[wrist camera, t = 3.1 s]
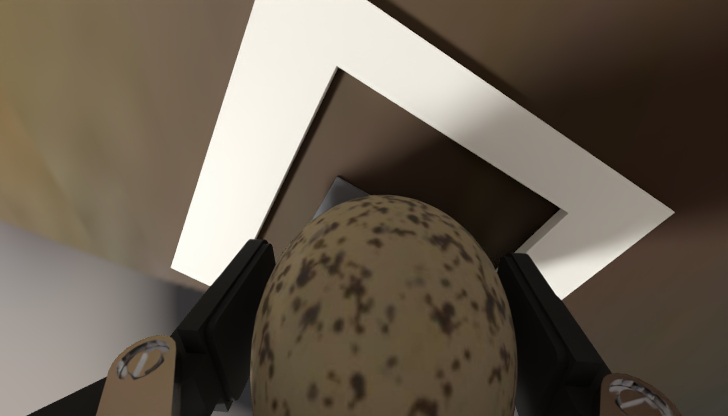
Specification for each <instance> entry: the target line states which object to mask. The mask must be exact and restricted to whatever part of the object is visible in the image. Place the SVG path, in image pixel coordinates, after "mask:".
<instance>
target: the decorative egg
mask: <svg viewBox="0 0 728 416" xmlns="http://www.w3.org/2000/svg"><path fill="white" fill-rule="evenodd" d="M250 380H251V400H252V411H253V416H513V415H514V410H515V401H516V391H517V346H516V337H515V331H514V325H513V319H512V315H511V311H510V307H509V303H508V300H507V297H506V294H505V291H504V289H503V286H502V284H501V281H500V279H499V276H498V274H497V272H496V270H495V268H494V266H493V264H492V262H491V261H490V259H489V258H488V256H487V255H486V253H485V252H484V251H483V249H482V248H481V246H480V245H479V244H478V242H477V241H476V240H475V239H474V238H473V236H472V235H471V234H470V233H469V232H468V231H467V230H466V229H465V228H463V227H462V226H461V225H460V224H459V223H458V222H456V221H455V220H454V219H453V218H451V217H450V216H448V215H447V214H445V213H444V212H442V211H441V210H439V209H437V208H435V207H433V206H430V205H428V204H426V203H424V202H421V201H418V200H415V199H412V198H408V197H402V196H395V195H371V196H365V197H360V198H356V199H353V200H349V201H347V202H344V203H341V204H339V205H336V206H334V207H332V208H330V209H328V210H327V211H325V212H323V213H322V214H321V215H319V216H318V217H317V218H315V219H314V220H312V221H311V222H310V223H309V224H308V225H307V226H305V227H304V228H303V229H302V230H301V231H300V232H299V233H298V234H297V235H296V237H295V238H294V239H293V240H292V242H291V243H290V244H289V246H288V247H287V248H286V249H285V251H284V252H283V253H282V255H281V257H280V259H279V260H278V262H277V263H276V265H275V267H274V270H273V272H272V274H271V276H270V278H269V280H268V282H267V283H266V287H265V290H264V293H263V296H262V299H261V302H260V305H259V308H258V311H257V315H256V320H255V325H254V331H253V337H252V348H251V369H250Z"/></svg>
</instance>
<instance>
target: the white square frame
mask: <svg viewBox="0 0 728 416" xmlns="http://www.w3.org/2000/svg"><path fill="white" fill-rule="evenodd" d="M338 67H339V68H341V69H342V70H344V71H346V72H347V73H349V74H350V75H352V76H353V77H355V78H357V79H358V80H360V81H361V82H363V83H364V84H366V85H368V86H369V87H371V88H372V89H374V90H375V91H377V92H379V93H380V94H382V95H383V96H385V97H386V98H388V99H390V100H391V101H393V102H394V103H396V104H397V105H399V106H401V107H402V108H404V109H405V110H407V111H408V112H410V113H412V114H413V115H415V116H416V117H418V118H419V119H421V120H423V121H424V122H426V123H427V124H429V125H430V126H432V127H434V128H435V129H437V130H438V131H440V132H441V133H443V134H445V135H446V136H448V137H449V138H451V139H452V140H454V141H456V142H457V143H459V144H460V145H462V146H464V147H465V148H467V149H468V150H470V151H471V152H473V153H475V154H476V155H478V156H479V157H481V158H482V159H484V160H486V161H487V162H489V163H490V164H492V165H493V166H495V167H497V168H498V169H500V170H501V171H503V172H504V173H506V174H508V175H509V176H511V177H512V178H514V179H515V180H517V181H519V182H520V183H522V184H523V185H525V186H526V187H528V188H530V189H531V190H533V191H534V192H536V193H537V194H539V195H541V196H542V197H544V198H545V199H547V200H548V201H550V202H552V203H553V204H555V205H556V206H558V207H559V208H561V209H560V210H559V211H558V212H557V213H556V214H554V215H553V216H552V217H551V218H550V219H549V220H548V221H547V222H546V223H545V224H544V225H543V226H542V227H541V228H540V229H539V230H538V231H536V232H535V233H534V234H533V235H532V236H531V237H530V238H529V239H528V240H527V241H526V242H525V243H524V244H523V245H522V246H521V247H520V248H519V249H517V250H516V251H515V252H514V253H526V254H528V255H529V256H530V258H531V259H532V260H533V262H534V263H535V265H536V266H537V268H538V269H539V271H540V272H541V274H542V275H543V277H544V278H545V280H546V281H547V282H548V284H549V285H550V287H551V288H552V290H553V291H554V293H555V294H556V296H558V297H559V298H560V299H561V300H562V299H563V298H565V297H566V296H567V295H568V294H570V293H571V292H572V291H574V290H575V289H576V288H578V287H579V286H580V285H581V284H583V283H584V282H585V281H587V280H588V279H589V278H591V277H592V276H593V275H594V274H596V273H597V272H598V271H600V270H601V269H602V268H603V267H605V266H606V265H607V264H609V263H610V262H611V261H613V260H614V259H615V258H616V257H618V256H619V255H620V254H622V253H623V252H624V251H626V250H627V249H628V248H629V247H631V246H632V245H633V244H635V243H636V242H637V241H638V240H640V239H641V238H642V237H644V236H645V235H646V234H648V233H649V232H650V231H651V230H653V229H654V228H655V227H657V226H658V225H659V224H660V223H662V222H663V221H664V220H666V219H667V218H668V217H670V216H671V215H672V214H673V213H675V212H674V211H673V210H671V209H670V208H668V207H667V206H665V205H664V204H663V203H661V202H660V201H658V200H657V199H655V198H654V197H652V196H651V195H649V194H648V193H647V192H645V191H644V190H642V189H641V188H639V187H638V186H636V185H635V184H633V183H632V182H631V181H629V180H628V179H626V178H625V177H623V176H622V175H620V174H619V173H617V172H616V171H615V170H613V169H612V168H610V167H609V166H607V165H606V164H604V163H603V162H601V161H600V160H599V159H597V158H596V157H594V156H593V155H591V154H590V153H588V152H587V151H585V150H584V149H583V148H581V147H580V146H578V145H577V144H575V143H574V142H572V141H571V140H569V139H568V138H567V137H565V136H564V135H562V134H561V133H559V132H558V131H556V130H555V129H553V128H552V127H551V126H549V125H548V124H546V123H545V122H543V121H542V120H540V119H539V118H537V117H536V116H535V115H533V114H532V113H530V112H529V111H527V110H526V109H524V108H523V107H521V106H520V105H519V104H517V103H516V102H514V101H513V100H511V99H510V98H508V97H507V96H505V95H504V94H503V93H501V92H500V91H498V90H497V89H495V88H494V87H492V86H491V85H489V84H488V83H487V82H485V81H484V80H482V79H481V78H479V77H478V76H476V75H475V74H473V73H472V72H471V71H469V70H468V69H466V68H465V67H463V66H462V65H460V64H459V63H457V62H456V61H455V60H453V59H452V58H450V57H449V56H447V55H446V54H444V53H443V52H441V51H440V50H439V49H437V48H436V47H434V46H433V45H431V44H430V43H428V42H427V41H425V40H424V39H423V38H421V37H420V36H418V35H417V34H415V33H414V32H412V31H411V30H409V29H408V28H407V27H405V26H404V25H402V24H401V23H399V22H398V21H396V20H395V19H393V18H392V17H391V16H389V15H388V14H386V13H385V12H383V11H382V10H380V9H379V8H377V7H376V6H375V5H373V4H372V3H370V2H369V1H367V0H255V3H254V6H253V9H252V12H251V15H250V18H249V22H248V25H247V28H246V31H245V34H244V38H243V41H242V44H241V47H240V50H239V53H238V57H237V60H236V63H235V66H234V69H233V72H232V76H231V79H230V82H229V85H228V88H227V91H226V95H225V98H224V101H223V104H222V107H221V110H220V114H219V117H218V120H217V123H216V126H215V129H214V133H213V136H212V139H211V142H210V145H209V148H208V152H207V155H206V158H205V161H204V164H203V167H202V171H201V174H200V177H199V180H198V183H197V186H196V190H195V193H194V196H193V199H192V202H191V205H190V209H189V212H188V215H187V218H186V221H185V224H184V228H183V231H182V234H181V237H180V240H179V244H178V247H177V250H176V253H175V256H174V259H173V263H172V266H171V268H173V269H175V270H177V271H179V272H181V273H183V274H185V275H187V276H190V277H192V278H194V279H196V280H198V281H200V282H202V283H205V284H207V285H209V286H211V285H212V284H213V283H214V281H215V280H216V279H217V278H218V277H219V276H220V275H221V273H222V272H223V271H224V270H225V268H226V267H227V266H228V265H229V263H230V262H231V261H232V260H233V258H234V257H235V256H236V255H237V253H238V252H239V251H240V250H241V248H242V247H243V246H244V245H245V244H246V242H247V241H248V240H249V239H257V236H258V234H259V232H260V230H261V228H262V226H263V224H264V222H265V220H266V218H267V216H268V213H269V211H270V209H271V207H272V205H273V203H274V201H275V199H276V197H277V195H278V193H279V190H280V188H281V186H282V184H283V182H284V180H285V178H286V176H287V174H288V172H289V169H290V167H291V165H292V163H293V161H294V159H295V157H296V155H297V153H298V151H299V149H300V146H301V144H302V142H303V140H304V138H305V136H306V134H307V132H308V130H309V128H310V126H311V123H312V121H313V119H314V117H315V115H316V113H317V111H318V109H319V107H320V105H321V103H322V100H323V98H324V96H325V94H326V92H327V90H328V88H329V86H330V84H331V82H332V80H333V77H334V75H335V73H336V71H337V69H338ZM365 196H371V195H369V194H368V193H366V192H364V191H362V190H361V189H359V188H357V187H355V186H354V185H352V184H350V183H348V182H347V181H345V180H343V179H341V178H340V177H338V176H337V177H336V179H335V181H334V183H333V184H332V186H331V188H330V190H329V191H328V193H327V195H326V197H325V198H324V200H323V202H322V204H321V205H320V207H319V209H318V211H317V212H316V214H315V216H314V218H313V219H312V220H314V219H315V218H317V217H318V216H319V215H321V214H322V213H323V212H325V211H327V210H328V209H330V208H332V207H334V206H336V205H339V204H341V203H344V202H347V201H349V200H353V199H356V198H360V197H365ZM497 271H498V268H497V269H496V272H497Z"/></svg>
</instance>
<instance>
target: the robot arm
mask: <svg viewBox="0 0 728 416" xmlns="http://www.w3.org/2000/svg"><path fill="white" fill-rule="evenodd" d="M275 265H276V264H275V258H274V252H273V247H272V245H271V244H268V242H267V240H261V239H249V240H248V241H247V242H246V244H245V245H244V246H243V247H242V248H241V250H240V251H239V252H238V253H237V255H236V256H235V257H234V258H233V260H232V261H231V262H230V263H229V265H228V266H227V267H226V268H225V270H224V271H223V272H222V273H221V275H220V276H219V277H218V278H217V279H216V280H215V281H214V283H213V284H212V285H211V286H210V288H209V289H208V290H207V291H206V292H205V294H204V295H203V296H202V297H201V299H200V300H199V301H198V302H197V304H196V305H195V306H194V307H193V309H192V310H191V311H190V312H189V314H188V315H187V316H186V317H185V318H184V320H183V321H182V322H181V323H180V325H179V326H178V327H177V328H176V330H175V331H174V332H173V333H172V335H171V336H170V337H168V336H165V335H161V336H160V335H156V336H152V337H148V338H145V339H143V340H140V341H138V342H136V343H135V344H133V345H131V346H130V347H128V348H127V349H126V350H124V352H122V353H121V354H120V355H119V356H118V357H117V358H116V359H115V361H114V362H113V363H112V365H111V367H110V369H109V372H108V376H107V377H105V378H103V379H101V380H99V381H97V382H95V383H93V384H91V385H89V386H87V387H85V388H82V389H80V390H78V391H76V392H75V393H72V394H70V395H68V396H66V397H64V398H62V399H60V400H58V401H56V402H54V403H52V404H50V405H48V406H46V407H43V408H41V409H39V410H38V411H35V412H33V413H31V414H29V415H27V416H211V414H212V412H213V411H222V412H228V411H229V409H230V407H231V404H232V402H233V400H235V401H236V400H238V399H239V397H240V396H241V394H242V392H243V389H244V387H245V385H246V383H247V380H248V378H249V376H250V369H251V348H252V337H253V331H254V325H255V320H256V315H257V311H258V308H259V305H260V302H261V299H262V296H263V293H264V290H265V287H266V283H267V282H268V280H269V278H270V276H271V274H272V272H273V270H274V267H275ZM497 274H498V276H499V279H500V281H501V284H502V286H503V289H504V291H505V294H506V297H507V300H508V303H509V307H510V311H511V315H512V319H513V325H514V331H515V337H516V346H517V391H516V401H515V406H516V409H517V412H518V415H519V416H682V415H681V413H680V412H679V410H678V409H677V408H676V406H675V405H674V404H673V403H672V402H671V401H670V400H669V399H668V398H667V397H666V396H665V395H664V394H663V393H661V392H660V391H658V390H657V389H656V388H654V387H653V386H652V385H650V384H648V383H646V382H644V381H642V380H641V379H638V378H636V377H633V376H630V375H627V374H621V373H613V374H612V373H611V371H610V370H609V368H608V367H607V365H606V364H605V363H604V361H603V360H602V358H601V357H600V355H599V354H598V352H597V351H596V350H595V348H594V347H593V345H592V344H591V342H590V341H589V339H588V338H587V337H586V335H585V334H584V332H583V331H582V329H581V328H580V326H579V325H578V323H577V322H576V321H575V319H574V318H573V316H572V315H571V313H570V312H569V310H568V309H567V308H566V306H565V305H564V303H563V302H562V300H561V299H560V298H559V297H558V296H556V294H555V293H554V291H553V290H552V288H551V287H550V285H549V284H548V282H547V281H546V280H545V278H544V277H543V275H542V274H541V272H540V271H539V269H538V268H537V266H536V265H535V263H534V262H533V260H532V259H531V258H530V256H529V255H528V254H526V253H508V254H507V255H506V257H504V256H503V257H501V259H500V263H499V267H498V271H497Z"/></svg>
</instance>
